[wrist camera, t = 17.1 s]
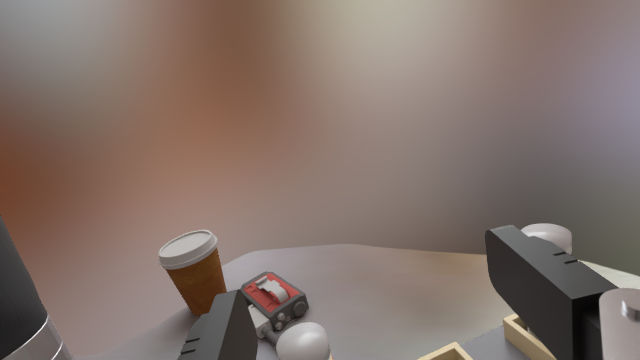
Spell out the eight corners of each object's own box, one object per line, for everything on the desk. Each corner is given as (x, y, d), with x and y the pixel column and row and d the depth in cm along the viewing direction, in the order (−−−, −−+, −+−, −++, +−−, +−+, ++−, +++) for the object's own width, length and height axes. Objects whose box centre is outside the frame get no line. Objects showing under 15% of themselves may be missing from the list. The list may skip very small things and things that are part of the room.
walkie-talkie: (228, 307, 59) (290, 372, 43) (219, 285, 58) (280, 344, 42) (272, 280, 63) (343, 330, 47) (265, 259, 62) (336, 303, 46)
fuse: (553, 366, 34) (546, 250, 30) (519, 339, 38) (510, 233, 34) (584, 349, 35) (582, 234, 31) (549, 325, 39) (543, 219, 35)
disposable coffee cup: (170, 322, 58) (142, 260, 55) (203, 286, 67) (180, 230, 63) (218, 323, 55) (191, 257, 51) (246, 285, 63) (225, 226, 60)
